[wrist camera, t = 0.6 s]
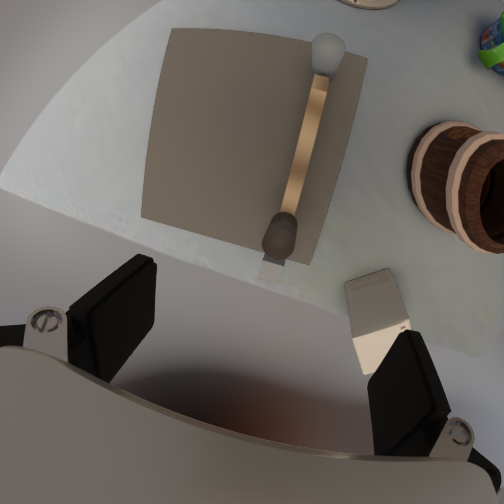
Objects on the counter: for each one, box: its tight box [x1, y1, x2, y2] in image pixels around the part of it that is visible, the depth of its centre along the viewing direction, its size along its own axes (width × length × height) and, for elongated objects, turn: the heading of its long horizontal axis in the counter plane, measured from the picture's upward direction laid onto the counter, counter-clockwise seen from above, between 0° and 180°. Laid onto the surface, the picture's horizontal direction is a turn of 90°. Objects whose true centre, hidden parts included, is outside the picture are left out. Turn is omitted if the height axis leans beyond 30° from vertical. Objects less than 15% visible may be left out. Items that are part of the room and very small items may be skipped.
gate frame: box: [258, 33, 345, 284], centre depth 29 cm, size 26×3×13 cm, turn 168°
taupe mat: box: [141, 28, 367, 265], centre depth 36 cm, size 30×27×1 cm
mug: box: [407, 121, 504, 254], centre depth 24 cm, size 20×15×15 cm
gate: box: [262, 74, 330, 260], centre depth 29 cm, size 20×3×13 cm, turn 168°
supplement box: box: [345, 269, 411, 375], centre depth 36 cm, size 7×7×13 cm
